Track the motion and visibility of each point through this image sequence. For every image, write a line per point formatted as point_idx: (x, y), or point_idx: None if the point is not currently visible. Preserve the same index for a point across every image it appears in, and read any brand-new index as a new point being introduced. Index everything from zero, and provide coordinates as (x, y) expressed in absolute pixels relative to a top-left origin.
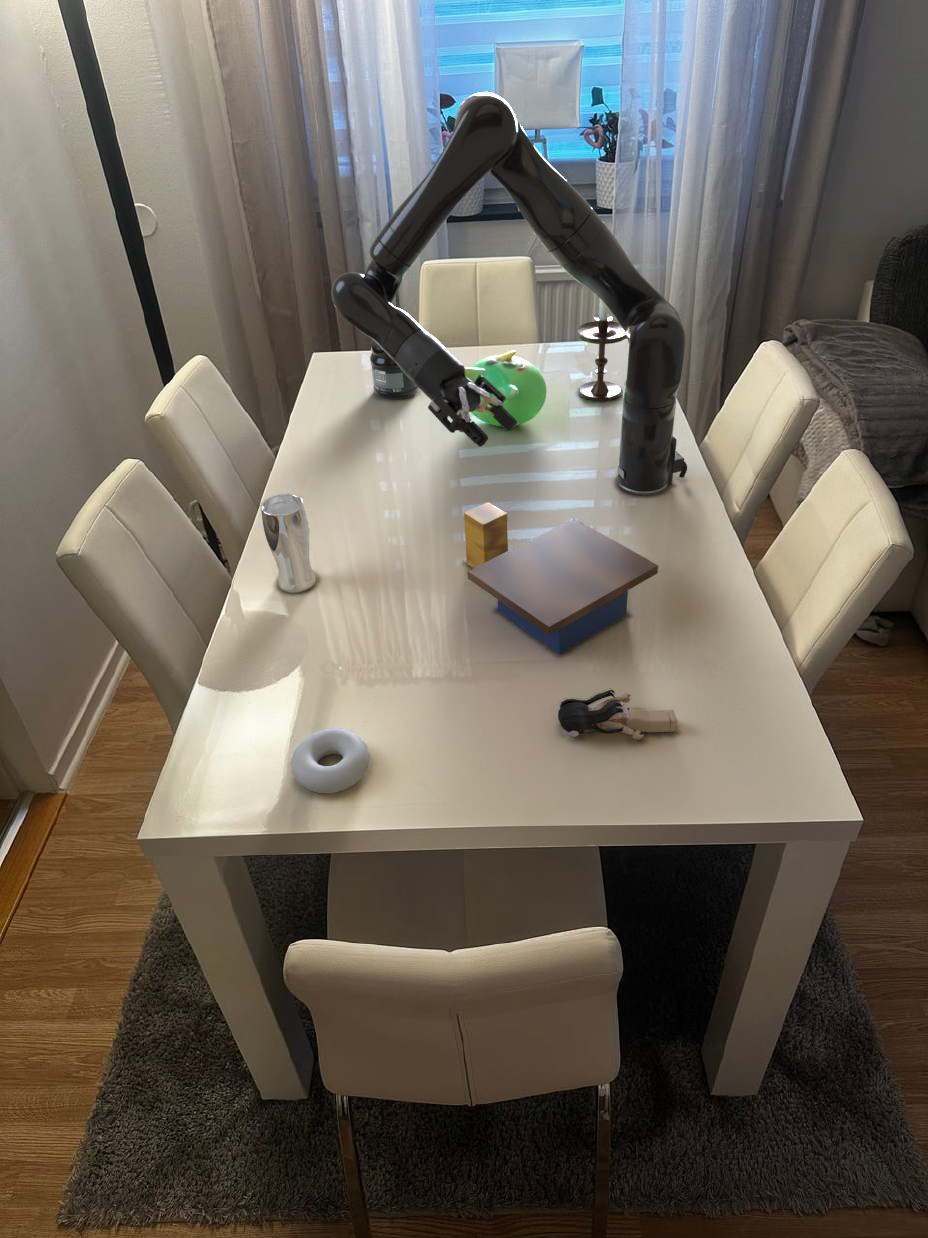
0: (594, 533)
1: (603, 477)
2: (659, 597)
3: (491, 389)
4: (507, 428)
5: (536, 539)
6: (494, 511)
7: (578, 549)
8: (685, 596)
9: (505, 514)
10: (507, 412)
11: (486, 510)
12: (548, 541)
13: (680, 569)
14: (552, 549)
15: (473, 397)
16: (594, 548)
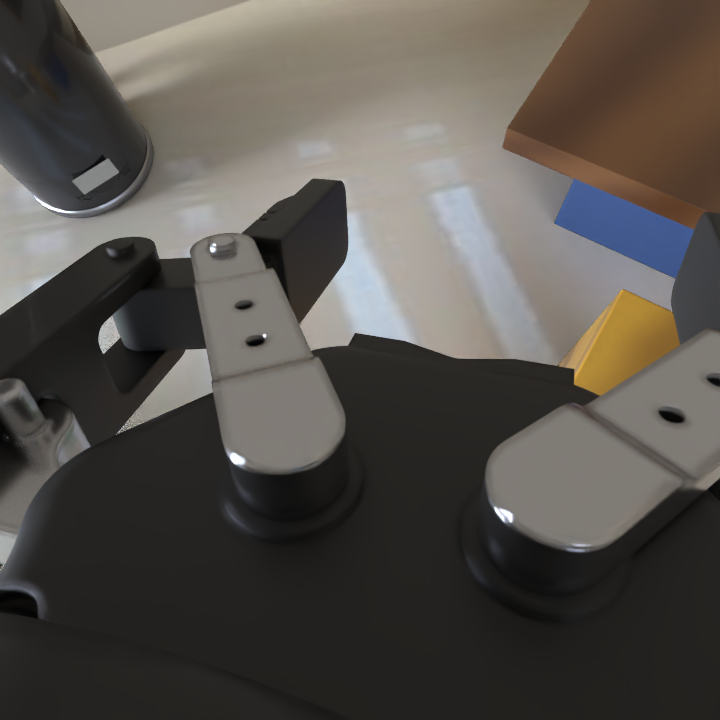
0: (569, 60)
1: (70, 255)
2: (550, 40)
3: (76, 315)
4: (341, 253)
5: (675, 187)
6: (629, 335)
7: (669, 74)
8: (527, 5)
9: (630, 292)
10: (288, 207)
11: (637, 365)
12: (669, 154)
13: (435, 30)
14: (706, 132)
15: (390, 389)
16: (644, 42)
